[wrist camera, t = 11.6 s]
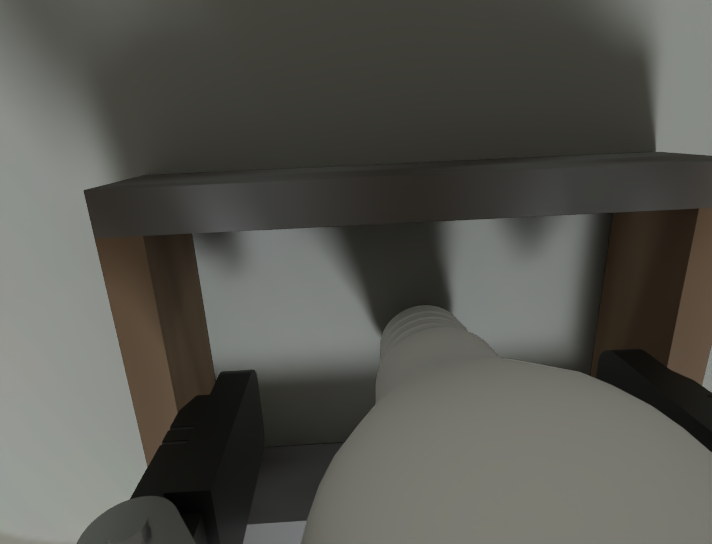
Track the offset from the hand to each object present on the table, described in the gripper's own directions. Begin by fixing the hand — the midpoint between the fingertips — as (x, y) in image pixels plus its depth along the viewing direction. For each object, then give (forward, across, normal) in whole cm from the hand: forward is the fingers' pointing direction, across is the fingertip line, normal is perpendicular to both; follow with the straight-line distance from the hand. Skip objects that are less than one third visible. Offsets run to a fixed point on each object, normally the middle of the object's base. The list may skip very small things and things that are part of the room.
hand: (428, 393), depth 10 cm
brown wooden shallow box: (+3, 0, 0) cm, 3 cm away
